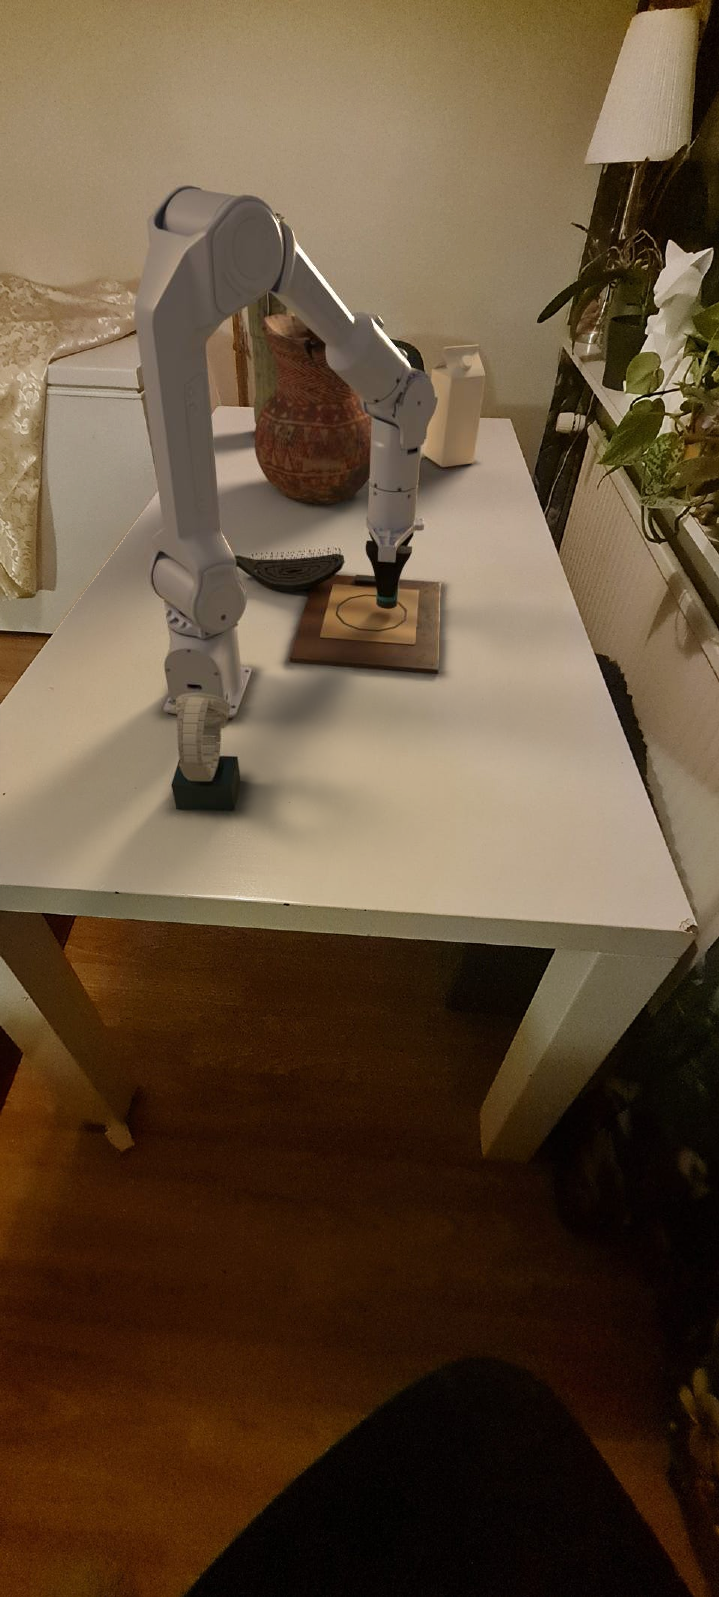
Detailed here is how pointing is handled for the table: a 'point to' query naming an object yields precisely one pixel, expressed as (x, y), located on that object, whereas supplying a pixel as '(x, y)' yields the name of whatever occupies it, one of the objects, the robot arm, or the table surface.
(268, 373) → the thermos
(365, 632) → the clipboard
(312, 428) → the jug
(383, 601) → the dot marker
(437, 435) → the milk carton
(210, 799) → the watch
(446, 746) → the table surface
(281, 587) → the hairbrush
